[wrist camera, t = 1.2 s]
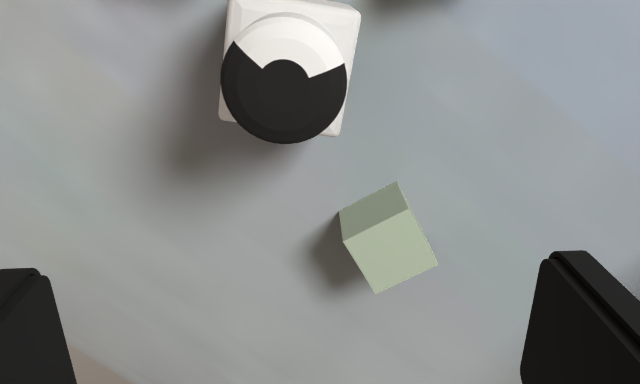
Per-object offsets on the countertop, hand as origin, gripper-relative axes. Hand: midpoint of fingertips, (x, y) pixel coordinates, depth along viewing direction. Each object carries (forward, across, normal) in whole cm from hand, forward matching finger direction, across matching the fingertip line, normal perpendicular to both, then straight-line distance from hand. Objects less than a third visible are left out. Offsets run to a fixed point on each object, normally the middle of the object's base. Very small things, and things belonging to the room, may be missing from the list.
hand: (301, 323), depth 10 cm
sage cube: (+27, -6, +12) cm, 30 cm away
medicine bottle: (+28, 0, -1) cm, 28 cm away
